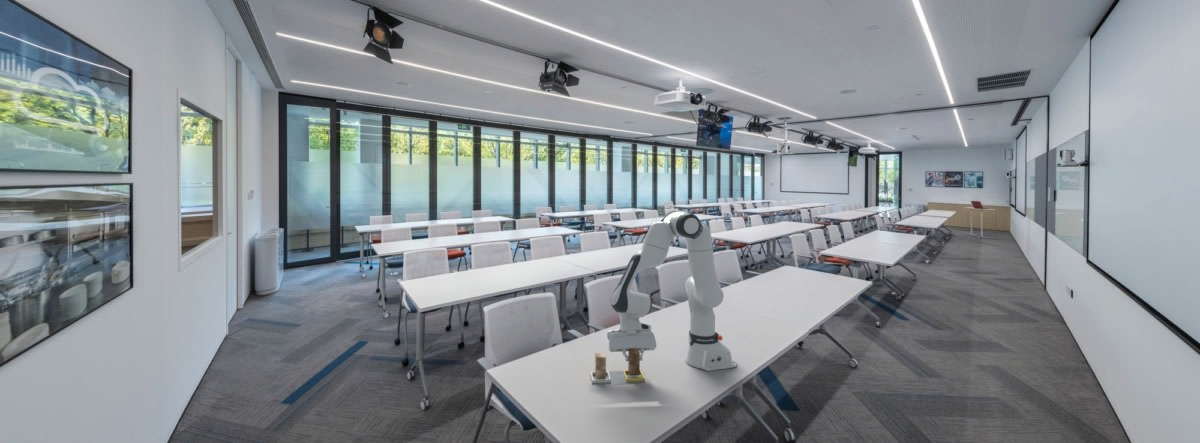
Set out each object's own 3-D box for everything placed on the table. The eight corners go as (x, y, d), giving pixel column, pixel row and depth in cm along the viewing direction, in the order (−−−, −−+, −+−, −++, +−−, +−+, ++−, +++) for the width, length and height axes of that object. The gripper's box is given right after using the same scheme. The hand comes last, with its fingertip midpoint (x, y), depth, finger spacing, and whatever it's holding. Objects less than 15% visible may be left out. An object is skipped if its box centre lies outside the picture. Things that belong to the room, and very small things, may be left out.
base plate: (640, 372, 187) (640, 367, 187) (646, 385, 175) (646, 380, 175) (589, 374, 185) (589, 369, 185) (592, 388, 173) (592, 382, 173)
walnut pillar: (637, 371, 183) (637, 348, 182) (639, 375, 179) (639, 352, 178) (628, 371, 182) (628, 348, 181) (629, 375, 178) (630, 352, 177)
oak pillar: (604, 375, 182) (604, 352, 181) (605, 380, 178) (605, 356, 177) (595, 376, 181) (595, 353, 180) (596, 380, 177) (596, 357, 176)
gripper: (607, 327, 185) (610, 358, 176) (654, 325, 187) (659, 356, 178) (606, 333, 190) (608, 364, 181) (652, 331, 192) (656, 362, 183)
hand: (634, 360), depth 179 cm, fingers closed on walnut pillar, 4 cm apart
